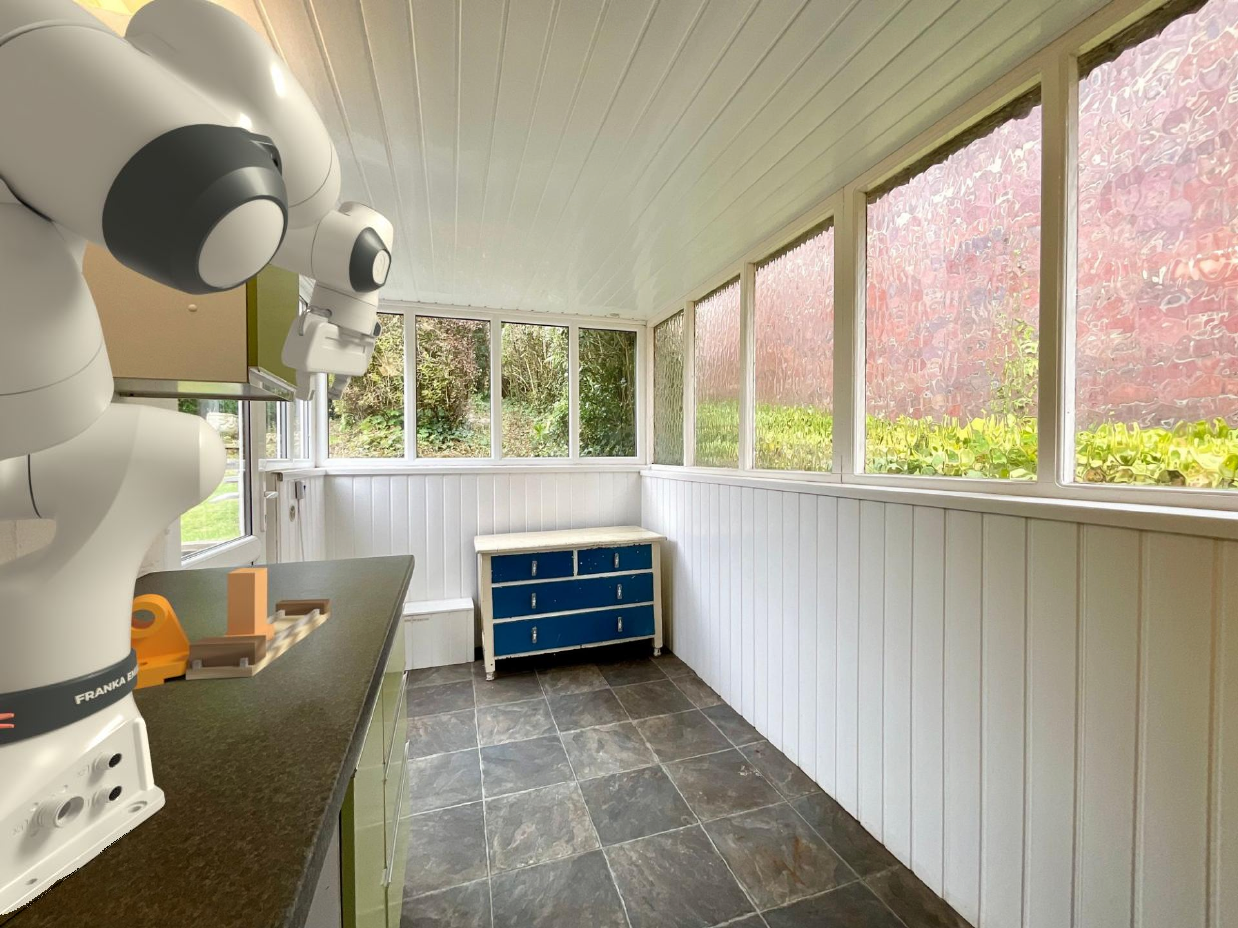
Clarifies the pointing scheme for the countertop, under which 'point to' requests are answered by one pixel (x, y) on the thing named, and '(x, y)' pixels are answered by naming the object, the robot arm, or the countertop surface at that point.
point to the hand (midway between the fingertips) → (319, 399)
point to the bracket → (158, 642)
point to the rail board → (269, 654)
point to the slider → (248, 603)
